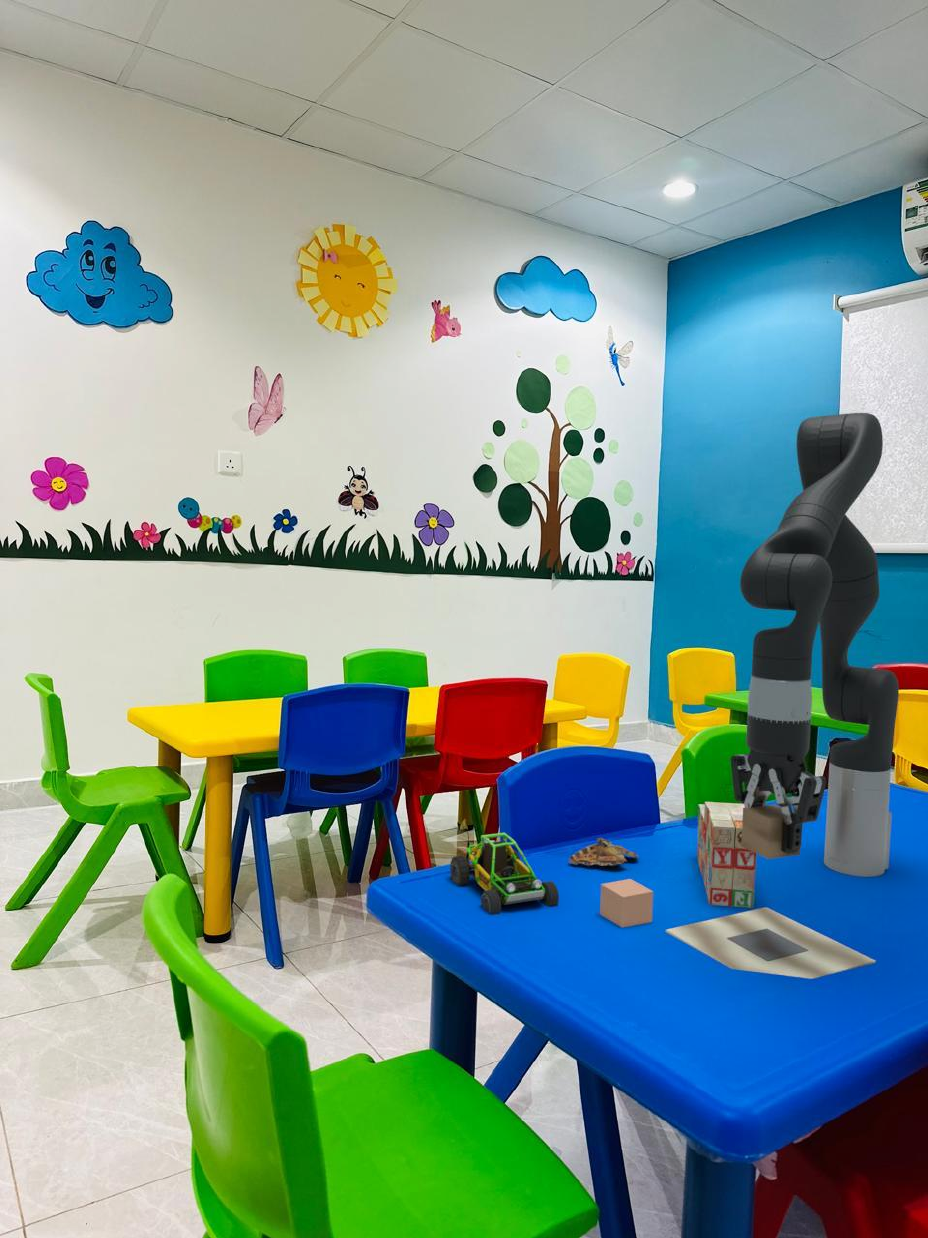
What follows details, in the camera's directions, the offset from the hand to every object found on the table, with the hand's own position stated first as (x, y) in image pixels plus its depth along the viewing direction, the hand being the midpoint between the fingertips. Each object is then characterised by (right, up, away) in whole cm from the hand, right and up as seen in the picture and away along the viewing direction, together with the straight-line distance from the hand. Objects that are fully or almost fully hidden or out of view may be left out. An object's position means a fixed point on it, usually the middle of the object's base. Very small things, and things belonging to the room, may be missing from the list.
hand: (772, 844), depth 114 cm
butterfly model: (-16, -13, +30) cm, 37 cm away
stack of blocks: (+1, -13, +25) cm, 28 cm away
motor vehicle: (-34, -12, +19) cm, 41 cm away
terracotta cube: (-17, -13, +9) cm, 23 cm away
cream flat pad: (0, -14, +1) cm, 14 cm away
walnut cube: (0, -1, 0) cm, 1 cm away
